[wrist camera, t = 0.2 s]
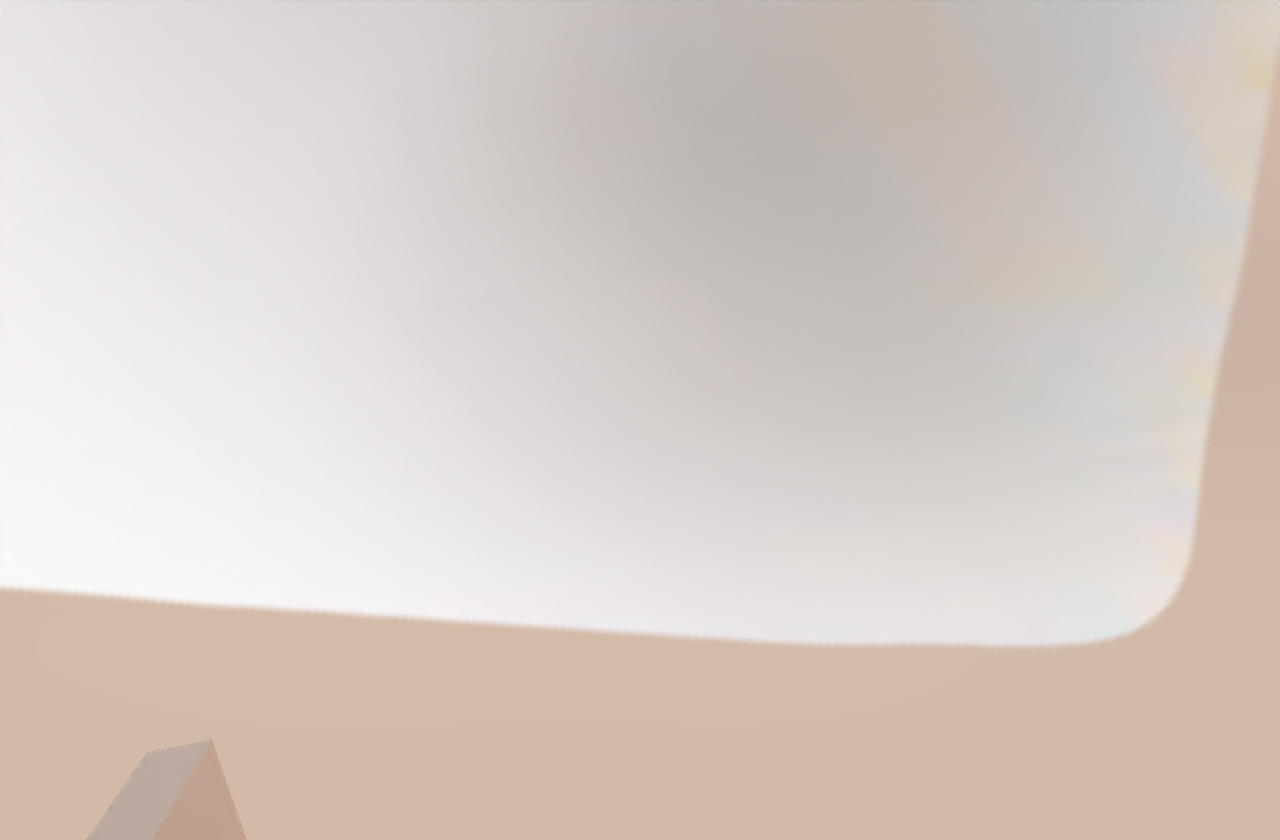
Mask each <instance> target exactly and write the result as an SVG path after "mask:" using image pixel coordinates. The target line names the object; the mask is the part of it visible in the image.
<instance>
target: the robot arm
mask: <svg viewBox="0 0 1280 840" xmlns="http://www.w3.org/2000/svg"><path fill="white" fill-rule="evenodd" d="M87 840H246V837H245V834H244V831H243V828H242V825H241V823H240V820H239V817H238V814H237V811H236V808H235V805H234V802H233V799H232V797H231V794H230V791H229V788H228V785H227V783H226V779H225V777H224V773H223V771H222V768H221V765H220V762H219V759H218V756H217V753H216V750H215V747H214V744H213V742H212V740H209V741H204V742H199V743H194V744H188V745H183V746H178V747H173V748H167V749H162V750H157V751H152V752H147V753H146V754H145V756H144V757H143V759H142V760H141V762H140V763H139V764H138V766H137V768H136V769H135V771H134V772H133V773H132V775H131V776H130V778H129V779H128V780H127V782H126V783H125V785H124V786H123V788H122V789H121V791H120V792H119V794H118V795H117V796H116V798H115V799H114V801H113V802H112V804H111V805H110V807H109V808H108V810H107V811H106V813H105V814H104V815H103V817H102V818H101V820H100V821H99V823H98V824H97V826H96V827H95V829H94V830H93V831H92V833H91V834H90V836H89V837H88V839H87Z"/></svg>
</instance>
